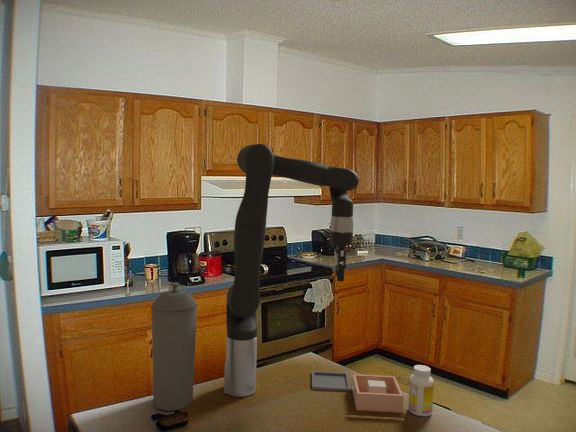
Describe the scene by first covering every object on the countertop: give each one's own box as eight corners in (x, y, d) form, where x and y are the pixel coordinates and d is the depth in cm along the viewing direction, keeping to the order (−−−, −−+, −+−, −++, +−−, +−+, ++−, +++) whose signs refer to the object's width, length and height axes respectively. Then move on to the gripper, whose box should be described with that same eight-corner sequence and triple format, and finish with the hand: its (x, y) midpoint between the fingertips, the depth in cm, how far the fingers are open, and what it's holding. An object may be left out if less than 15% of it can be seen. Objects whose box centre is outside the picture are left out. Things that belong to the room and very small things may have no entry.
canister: (201, 394, 136) (203, 279, 133) (187, 415, 123) (189, 289, 121) (160, 391, 137) (161, 277, 134) (142, 411, 124) (144, 286, 122)
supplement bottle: (433, 409, 131) (436, 366, 130) (430, 419, 125) (433, 374, 124) (410, 403, 134) (412, 361, 133) (406, 413, 128) (408, 369, 127)
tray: (311, 391, 140) (312, 386, 140) (311, 375, 152) (311, 370, 152) (350, 393, 140) (350, 388, 140) (347, 376, 152) (347, 372, 151)
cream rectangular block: (368, 402, 132) (369, 386, 132) (366, 396, 136) (367, 380, 136) (385, 403, 132) (386, 387, 132) (383, 397, 136) (384, 381, 136)
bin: (356, 412, 128) (357, 393, 128) (351, 391, 141) (352, 374, 141) (402, 414, 128) (403, 395, 127) (393, 393, 141) (394, 376, 140)
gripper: (329, 227, 156) (327, 273, 158) (331, 231, 142) (329, 282, 143) (351, 228, 156) (349, 274, 157) (355, 232, 142) (352, 283, 143)
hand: (339, 278), depth 150 cm, fingers open, 8 cm apart
